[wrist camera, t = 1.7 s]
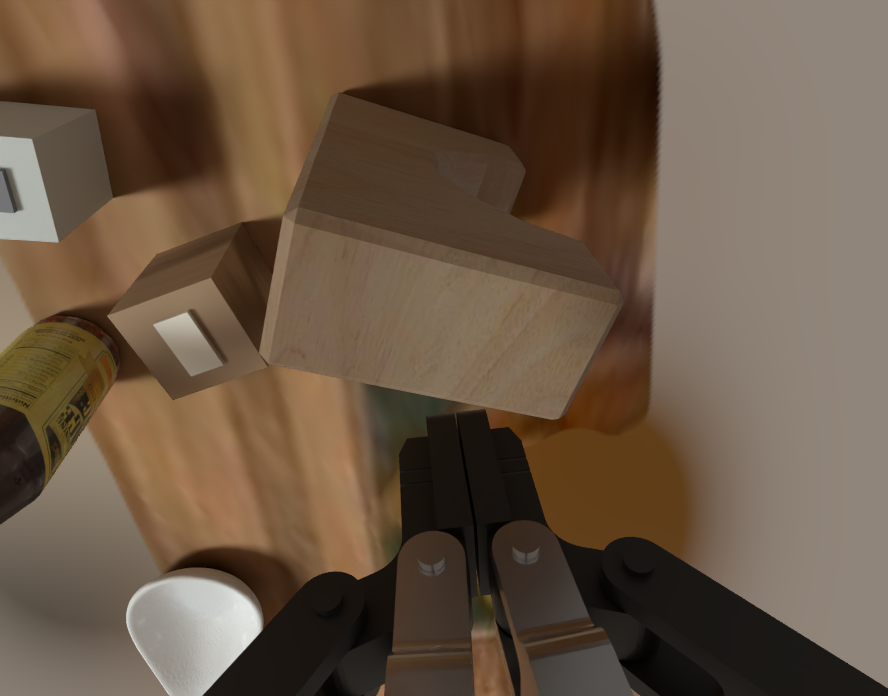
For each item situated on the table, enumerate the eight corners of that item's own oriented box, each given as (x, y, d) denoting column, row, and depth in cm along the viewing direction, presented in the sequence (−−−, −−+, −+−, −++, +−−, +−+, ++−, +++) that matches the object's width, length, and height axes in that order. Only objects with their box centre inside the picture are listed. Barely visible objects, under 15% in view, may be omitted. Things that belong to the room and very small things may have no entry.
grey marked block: (-44, 96, 31) (-147, 125, 25) (95, 109, 32) (28, 140, 26) (-15, 188, 34) (-102, 235, 28) (113, 197, 35) (55, 244, 29)
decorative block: (514, 146, 35) (635, 299, 18) (481, 231, 38) (561, 431, 21) (334, 85, 33) (284, 200, 16) (313, 181, 35) (252, 367, 19)
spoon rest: (125, 549, 51) (91, 626, 45) (261, 542, 52) (245, 616, 46) (181, 690, 64) (161, 763, 58) (290, 681, 65) (280, 753, 59)
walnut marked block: (156, 254, 37) (104, 318, 30) (242, 222, 36) (209, 280, 29) (207, 329, 40) (171, 403, 33) (286, 300, 39) (266, 370, 33)
